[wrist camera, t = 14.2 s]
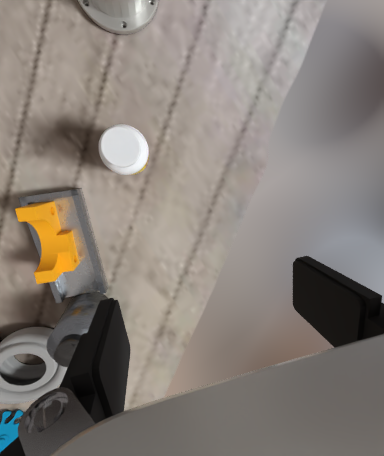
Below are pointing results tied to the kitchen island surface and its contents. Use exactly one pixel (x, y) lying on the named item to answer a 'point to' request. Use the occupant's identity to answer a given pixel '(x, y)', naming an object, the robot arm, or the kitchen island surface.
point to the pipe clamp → (50, 241)
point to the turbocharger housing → (27, 367)
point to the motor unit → (73, 273)
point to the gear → (8, 429)
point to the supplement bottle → (123, 149)
